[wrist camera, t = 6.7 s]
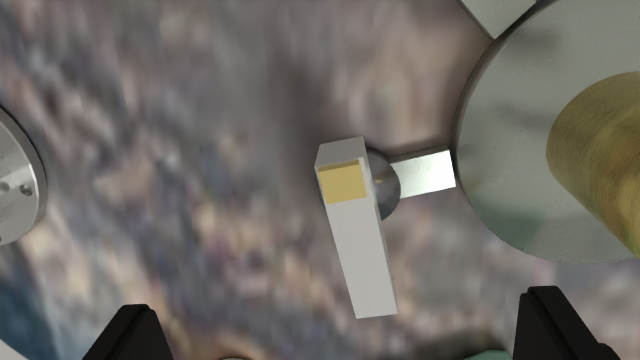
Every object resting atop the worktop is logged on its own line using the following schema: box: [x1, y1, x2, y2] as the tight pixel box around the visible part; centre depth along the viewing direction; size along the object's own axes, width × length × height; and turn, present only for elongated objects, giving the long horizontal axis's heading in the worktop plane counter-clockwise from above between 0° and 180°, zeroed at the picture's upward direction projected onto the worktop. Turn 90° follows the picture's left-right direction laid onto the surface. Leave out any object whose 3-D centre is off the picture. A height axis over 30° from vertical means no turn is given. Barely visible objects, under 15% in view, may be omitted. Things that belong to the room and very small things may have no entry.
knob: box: [314, 136, 398, 319], centre depth 21 cm, size 9×2×6 cm, turn 14°
